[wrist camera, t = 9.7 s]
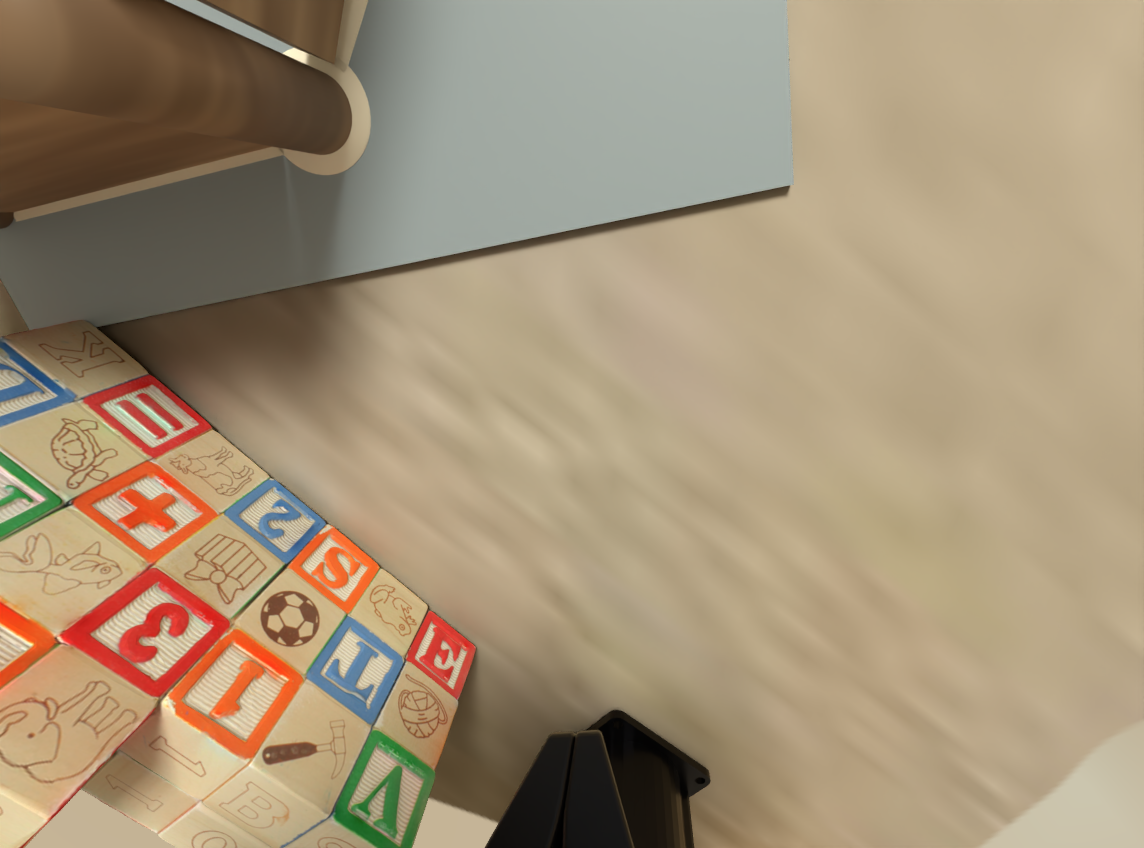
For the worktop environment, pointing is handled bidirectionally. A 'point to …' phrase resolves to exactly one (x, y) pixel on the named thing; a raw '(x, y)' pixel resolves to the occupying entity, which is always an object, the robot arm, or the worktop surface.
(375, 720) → the stack of blocks
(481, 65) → the card
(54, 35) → the fence post and fixed panel
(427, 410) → the worktop surface
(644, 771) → the robot arm
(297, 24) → the wooden board
